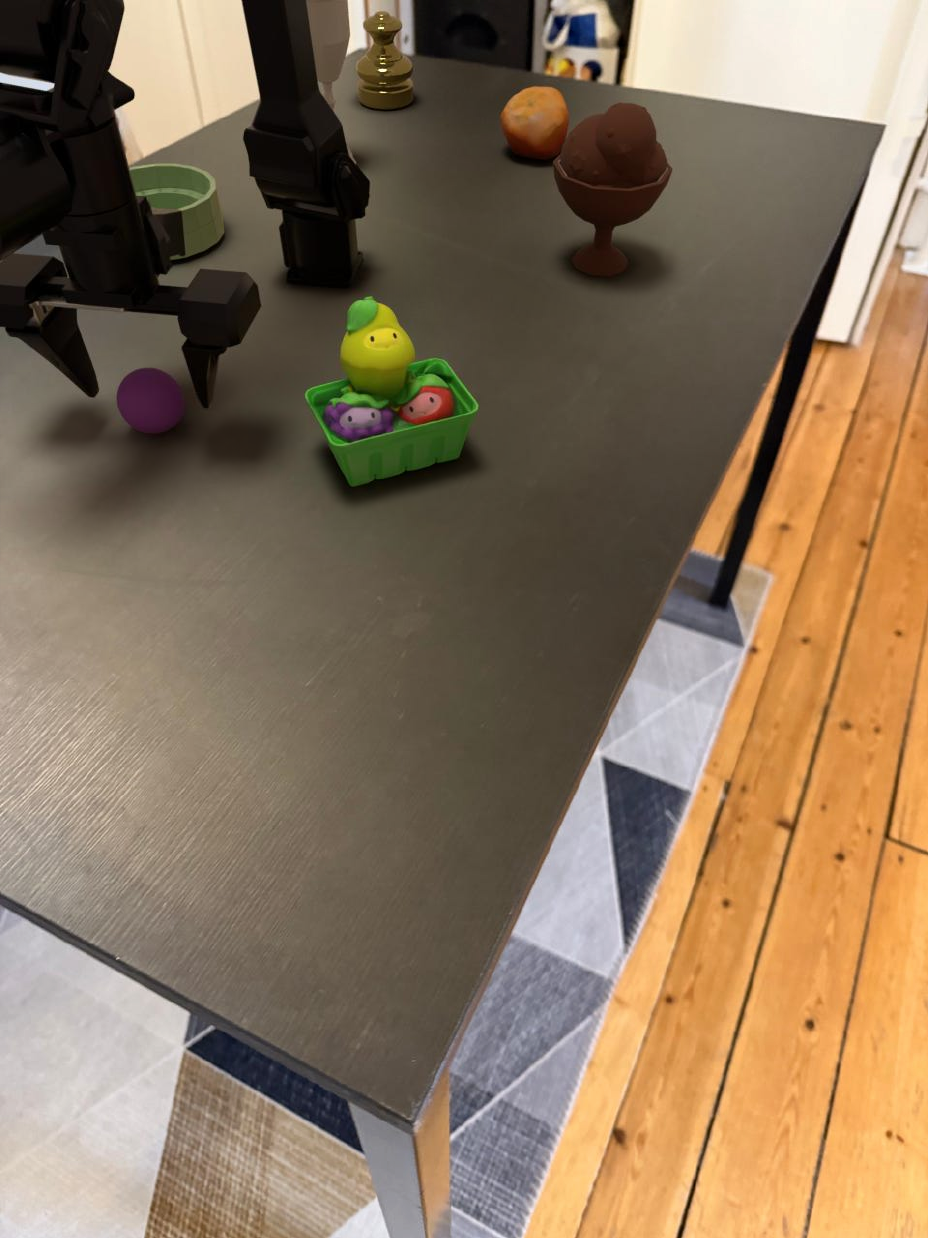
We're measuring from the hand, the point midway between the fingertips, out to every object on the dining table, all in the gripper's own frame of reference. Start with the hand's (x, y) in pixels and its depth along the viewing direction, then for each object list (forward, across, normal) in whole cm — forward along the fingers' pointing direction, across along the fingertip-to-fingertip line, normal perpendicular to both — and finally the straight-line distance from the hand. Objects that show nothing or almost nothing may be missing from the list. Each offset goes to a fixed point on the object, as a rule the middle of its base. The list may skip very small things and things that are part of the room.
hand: (151, 399), depth 69 cm
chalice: (+3, -2, -52) cm, 52 cm away
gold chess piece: (+3, -4, -73) cm, 73 cm away
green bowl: (+2, +11, -31) cm, 33 cm away
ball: (0, 0, 0) cm, 0 cm away
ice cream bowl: (+3, -34, -33) cm, 47 cm away
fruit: (+3, -25, -59) cm, 64 cm away
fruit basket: (+3, -19, 0) cm, 19 cm away
